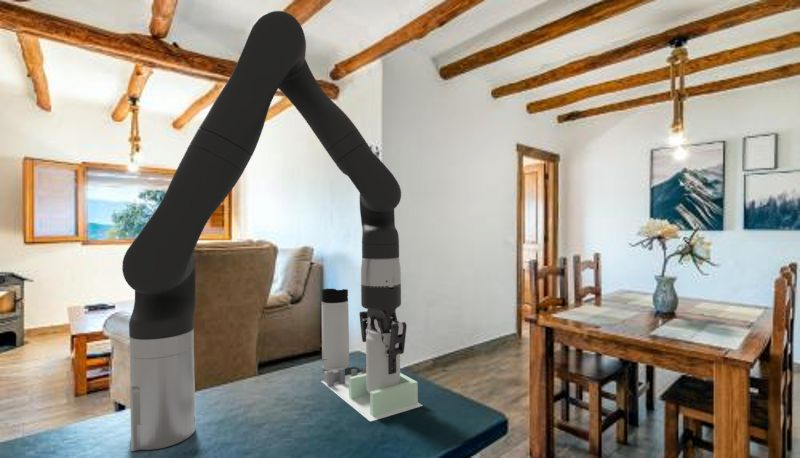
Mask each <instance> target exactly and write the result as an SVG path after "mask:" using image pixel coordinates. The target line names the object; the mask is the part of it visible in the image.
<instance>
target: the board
mask: <svg viewBox="0 0 800 458" xmlns="http://www.w3.org/2000/svg"><path fill="white" fill-rule="evenodd" d="M322 373H323V377H322V378H323V380H321V381H320V382H321V383H322V384H323V385H325V386H326V387H327V388H328V389H330V390H331V391H332V392H333V393H335V394H336V395H337V396H338V397H339V398H341V399H342V400H343V401H344V402H345V403H347V405H349V406H350V407H351V408H352V409H354V410H355V411H357V413H359V414H360V415H362V417H364V418H365V419H366V420H368V421H369V422H374V421H377V420H380V419H383V418H387V417H390V416H394V415H397V414H400V413H404V412H407V411H410V410H413V409H417V408H420V407H423V406H424V405H423V404H421V403H419V402H418V403H417V404H414V405H411V406H407V407H404V408H401V409H397V410H394V411H391V412H387V413H384V414H380V415H377V416H374V417H373V416H372V415H370V395H367V396H364V397H360V398H356V399H352V400H351V399H350V398H349V377H352V376H357V375H361V374H365V373H366V366H361V371H360V372H358V369H357V368H352V369H350V374H347V375H346V369H344V368H339V370H337V369H334V370H329V371H324V372H323V371H322Z"/></svg>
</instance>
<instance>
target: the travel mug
mask: <svg viewBox="0 0 800 458" xmlns="http://www.w3.org/2000/svg"><path fill="white" fill-rule="evenodd" d="M349 321H350V320H349V289H347V288H342V289H336V288H323V289H321V342H322V343H321V347H322V348H321V356H322V359H321V360H322V362H321V363H322V373H323V372H324V371H329V370H334V369H337V370H339V368H344V369H345V370H347V369H348V370H349V369H350V339H349V338H350V336H349V335H350V332H349V331H350V329H349V328H350V327H349V326H350V325H349Z"/></svg>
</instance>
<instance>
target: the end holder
mask: <svg viewBox="0 0 800 458" xmlns="http://www.w3.org/2000/svg"><path fill="white" fill-rule="evenodd" d="M418 384H419V383H418V381H417V380H414V379H413V378H411V377H409V376H407V375H406V374H403V373H402V372H400V384H398V385H395V386H391V387H387V388H383V389H379V390H375V391H371V392H370V393H368V392H367V389H366V373H365V374H361V375H357V376H352V377H349V398H350V399H351V400H352V399H356V398H360V397H364V396H367V395H370V415H372V416H373V417H374V416H377V415H380V414H384V413H387V412H391V411H394V410H397V409H401V408H404V407H407V406H411V405H414V404H417V403H419V401H418V400H419V398H418V397H419V395H418V394H419V393H418V392H419V391H418V389H419V388H418V387H419V386H418Z"/></svg>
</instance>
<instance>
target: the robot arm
mask: <svg viewBox="0 0 800 458" xmlns="http://www.w3.org/2000/svg"><path fill="white" fill-rule="evenodd" d="M305 35H306V34H305V32H304V29H303V27H302V25H301V23H300V22H299V21H298V19H297V18H296V17H294V15H292V14H291V13H288V12H286V11H284V10H283V11H282V10H273V11H269V12H266V13H264V14H262V15H261V16H259V17H258V19H256V21H255V22H254V23H253V25H252V26H251V29H250V31H249V33H248V36H247V38H246V41H245V43H244V46H243V47H242V51H241V53H240V55H239V58H238V60H237V63H236V65H235V67H234V69H233V71H232V73H231V75H230V77H229V79H228V80H227V82H226V83H225V85H224V86H223V88H222V90H220V92H219V94H218V96H217V97H216V99H215V100H214V102H213V104H212V106H211V107H210V109H209V111H208V112H207V115H206V116H205V118H204V119H203V121H202V122H201V124H200V125H199V127H198V129H197V130H196V132H195V133H194V136H193V138H192V140H191V141H190V143H189V145H188V147H187V148H186V151H185V153H184V155H183V157H182V159H181V161H180V162H179V165H178V166H177V168H176V171H175V172H174V174H173V177H172V179H171V181H170V183H169V185H168V188H167V190H166V192H165V194H164V195H163V198H162V200H161V202H160V203H159V205H158V206H157V208H156V209H155V211H154V212H153V214H152V215H151V217H150V218H149V219H148V220H147V222H146V224H145V225H144V226H143V228H142V229H141V231H140V232H139V233H138V235H137V236H136V238H135V239H134V240H133V241H132V242H131V244H130V245H129V246H128V249H127V250H126V252H125V253H124V255H123V259H122V264H121V265H122V268H121V269H122V275H123V277H124V280H125V282H126V283H127V285H128V286H129V287H130V288H131V289H132V290H133V291H134V304H133V309H132V313H131V316H130V318H129V324H128V325H129V326H128V333H129V373H130V374H129V379H130V380H129V385H130V386H129V397H130V447H131V448H130V449H131V452H136V451H141V450H144V451H145V450H146V451H148V450H149V451H150V450H158V449H159V450H160V449H163V448H168V447H170V446H171V447H172V446H174V445H177V444H179V443H181V442H183V441H185V440H187V439H189V437H191V436H192V435H193V434H194V433H195V431H196V391H195V389H196V388H195V387H196V386H195V383H196V382H195V380H196V379H195V378H196V377H195V338H194V337H195V333H194V332H195V331H194V330H195V329H194V321H195V319H194V317H195V310H196V260H195V255H194V251H195V250H196V249H195V248H196V247H197V246H196V245H197V244H198V241H199V239H200V237H201V235H202V232H203V231H204V229H205V227H206V225H207V224H208V222H209V219H210V218H212V216H213V214H214V213H215V211H216V210H218V208H219V207H220V206H221V204H222V203H223V202H224V201H225V200H226V198H227V197H228V196H229V194H230V193H231V192H232V190H233V188H234V187H235V186H236V184H237V183H238V182H239V180H240V179H241V177H242V175H243V174H244V171H246V170H245V169H246V168H247V165H248V164H249V162H250V160H251V158H252V157H253V155H254V153H255V150H256V148H257V146H258V143H259V140H260V137H261V135H262V132H263V129H264V127H265V126H264V125H265V122H266V120H267V116H268V113H269V110H270V107H271V103H272V101H273V98H274V97H275V95H276V94H277V91H278V89H279V91H280V92H281V93H282V94H283V95H284V96H285V97H286V98H287V99H288V100H289V102H290V103H291V104H292V105H293V107H295V108H296V110H297V111H298V113H299V114H300V115H301V116H302V118H303V120H305V122H306V123H307V124H308V126H309V128H310V129H311V131H312V132H313V133H314V134H315V136H316V138H317V139H318V141H319V143H320V144H321V145H322V147H323V148H324V150H325V151H326V152H327V154H328V155H329V157H330V158H331V160H332V161H333V163H335V165H336V166H337V168H338V169H339V170H340V171H341V173H342V174H344V175H345V176H347V177H348V178H349V179H350V181H351V182H352V184H353V185H354V186H355V187H354V188H356V189H357V191H358V193H359V212H360V221H361V227H362V228H361V229H362V233H361V234H362V235H361V236H362V237H361V258H362V259H361V265H360V266H361V267H360V292H361V294H360V299H361V301H360V302H361V304H360V305H361V307H362V308H363V309H366V310H365V311H364V310H363V311H360V312H359V315H358V316H359V322H360V323H359V324H360V330H361V332H360V334H361V341H362V342H363V343H366V336H367V334H368V329H370V330H371V329H374V330H376V331H377V333H379V334H383V333H391V336H390V346H389V348H388V345H386V344H385V355H386V357H388V370H389V374H394V373H396V356H397V355H398V354H400V355H403V354H404V352H405V343H406V336H407V335H406V333H407V323H406V322H405V321H404V322H403V321H401V322H400V321H399V320H398V316H397V314H396V313H397V312H396V310H397V308H400V307H401V305H402V279H401V278H402V274H401V273H402V272H401V271H402V270H401V263H400V238H399V232H398V230H397V228H396V222H395V221H396V220H395V217H396V216H395V209H396V208H397V207H398V205H399V204H400V202H401V199H402V189H401V187H400V184H399V182H398V180H397V179H396V177H395V176H394V174H393V172H391V170H390V169H389V168H388V167H387V166H386V165H385V164H384V163H383V162H382V160H381V159H380V158H379V157H378V156H377V155H376V154H375V153H374V152H373V151H372V149H371V147H370V145H369V144H368V142H367V141H366V140H365V138H364V137H363V135H362V133H361V132H360V130H359V129H358V128H357V126H356V125H355V124H354V122H353V121H352V120H351V118H349V116H348V115H347V114H346V113H345V112H344V110H342V109H341V107H339V106H338V105H337V104H336V103H335V102H334V101H333V100H332V99H331V98H330V97H329V96H328V95H327V94H326V92H325V91H324V90H323V88H322V87H321V86H320V84H319V83H318V81H317V80H316V78H315V77H314V74H313V72H312V70H311V68H310V67H309V65H308V64H309V63H308V62H307V59H306V52H307V49H306V48H307V40H306V36H305ZM381 339H382V342H383V339H384V336H383V335H381ZM383 343H384V342H383ZM397 343H399V347H398V346H397ZM392 359H393V361H392ZM392 368H393V369H392Z"/></svg>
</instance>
